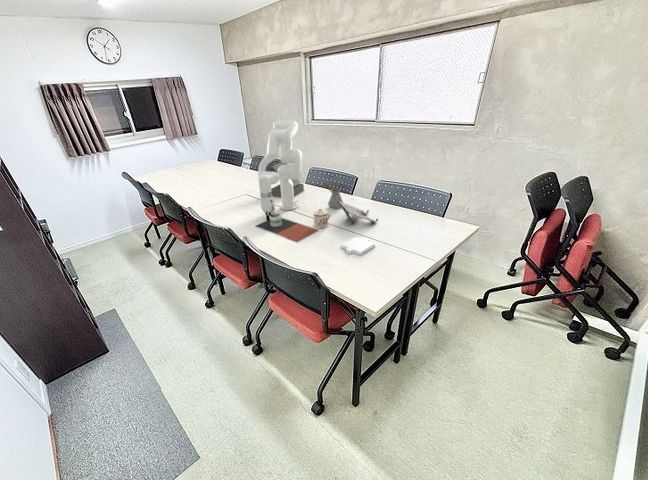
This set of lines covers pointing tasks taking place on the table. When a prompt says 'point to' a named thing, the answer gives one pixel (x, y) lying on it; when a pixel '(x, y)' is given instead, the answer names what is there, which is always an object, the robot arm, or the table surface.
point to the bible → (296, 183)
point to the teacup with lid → (320, 218)
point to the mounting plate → (357, 245)
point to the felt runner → (289, 229)
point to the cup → (275, 220)
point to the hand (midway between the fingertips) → (269, 220)
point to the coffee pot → (334, 198)
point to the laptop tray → (354, 212)
